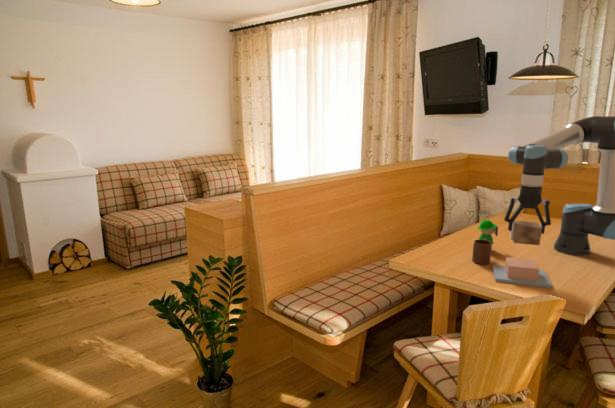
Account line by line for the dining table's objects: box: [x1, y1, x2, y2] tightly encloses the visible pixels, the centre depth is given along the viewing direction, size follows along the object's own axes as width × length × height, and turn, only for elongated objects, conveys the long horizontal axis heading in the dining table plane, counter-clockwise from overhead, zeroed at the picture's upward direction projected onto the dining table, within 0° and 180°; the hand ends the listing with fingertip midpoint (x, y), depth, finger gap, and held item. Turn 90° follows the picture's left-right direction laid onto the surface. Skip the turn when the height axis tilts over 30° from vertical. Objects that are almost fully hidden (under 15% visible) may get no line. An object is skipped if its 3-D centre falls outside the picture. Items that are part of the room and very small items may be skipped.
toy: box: [477, 219, 499, 245], centre depth 208 cm, size 9×9×15 cm
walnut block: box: [512, 220, 542, 246], centre depth 171 cm, size 9×9×7 cm
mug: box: [471, 239, 493, 265], centre depth 194 cm, size 12×8×9 cm, turn 146°
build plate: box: [492, 256, 553, 289], centre depth 175 cm, size 20×16×6 cm
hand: (524, 239), depth 172 cm, fingers closed on walnut block, 9 cm apart
